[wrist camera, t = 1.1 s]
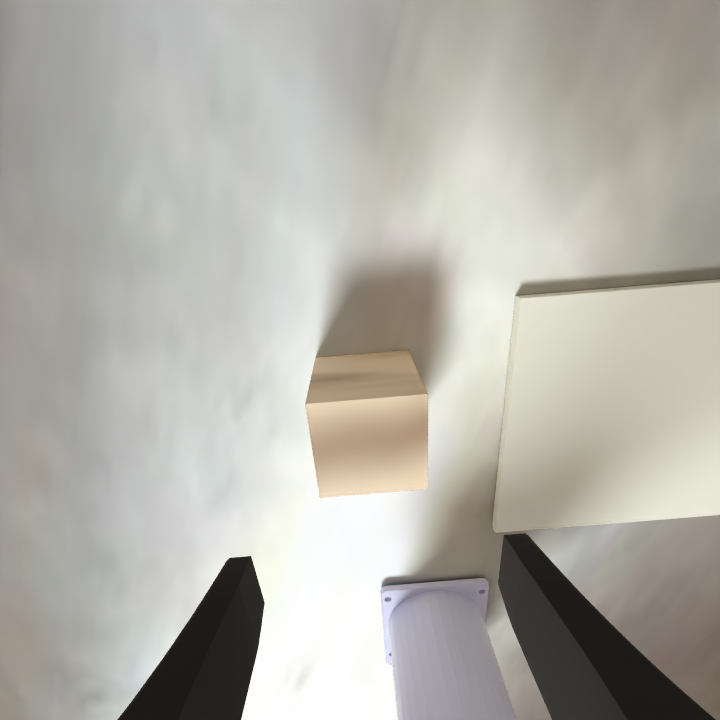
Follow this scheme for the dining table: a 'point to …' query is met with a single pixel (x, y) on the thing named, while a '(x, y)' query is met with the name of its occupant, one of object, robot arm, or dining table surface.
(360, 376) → the cube
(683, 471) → the pad
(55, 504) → the dining table surface
